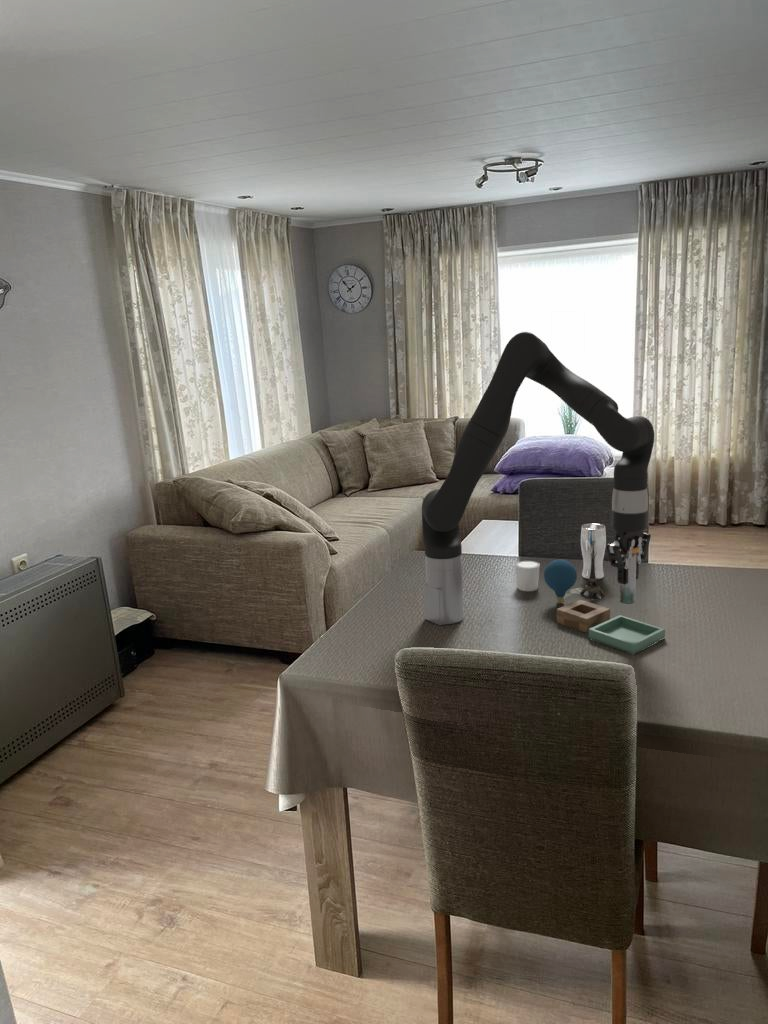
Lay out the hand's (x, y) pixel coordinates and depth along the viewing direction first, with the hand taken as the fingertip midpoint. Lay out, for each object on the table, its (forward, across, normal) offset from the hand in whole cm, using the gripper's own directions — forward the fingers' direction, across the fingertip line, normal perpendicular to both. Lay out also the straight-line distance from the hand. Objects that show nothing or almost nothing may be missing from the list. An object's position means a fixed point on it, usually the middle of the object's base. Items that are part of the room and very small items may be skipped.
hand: (628, 580), depth 164 cm
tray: (+14, 0, 0) cm, 14 cm away
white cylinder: (+14, +10, +39) cm, 43 cm away
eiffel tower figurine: (+15, +17, +22) cm, 32 cm away
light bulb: (+14, +7, +25) cm, 30 cm away
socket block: (+14, +1, +13) cm, 19 cm away
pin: (+5, 0, 0) cm, 5 cm away
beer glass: (+14, +30, +32) cm, 46 cm away
